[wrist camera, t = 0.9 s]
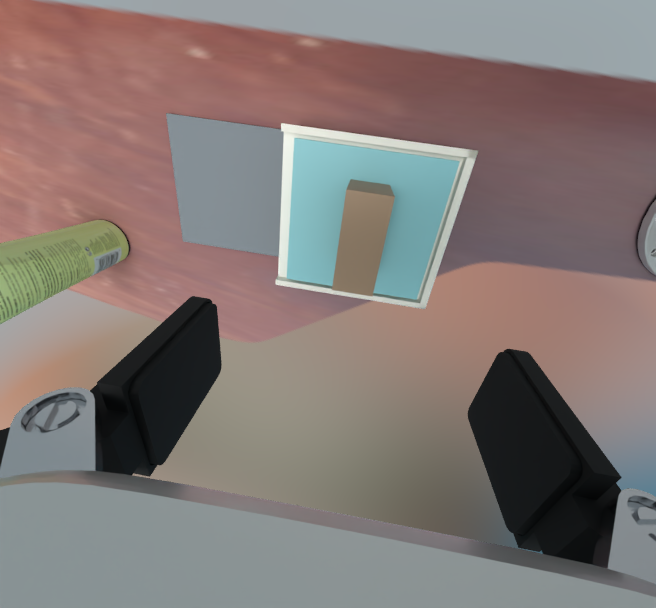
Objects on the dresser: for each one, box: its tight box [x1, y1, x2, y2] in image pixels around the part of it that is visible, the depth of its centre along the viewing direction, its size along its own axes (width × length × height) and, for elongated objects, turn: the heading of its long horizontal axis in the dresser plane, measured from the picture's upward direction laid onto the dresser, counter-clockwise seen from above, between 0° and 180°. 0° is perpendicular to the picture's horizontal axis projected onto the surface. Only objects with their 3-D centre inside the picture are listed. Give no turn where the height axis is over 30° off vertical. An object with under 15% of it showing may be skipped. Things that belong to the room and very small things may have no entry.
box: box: [276, 123, 478, 309], centre depth 27 cm, size 14×13×6 cm
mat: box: [166, 113, 284, 257], centre depth 30 cm, size 11×12×1 cm
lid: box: [287, 138, 460, 300], centre depth 22 cm, size 12×11×6 cm
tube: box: [0, 220, 129, 324], centre depth 26 cm, size 6×5×20 cm
